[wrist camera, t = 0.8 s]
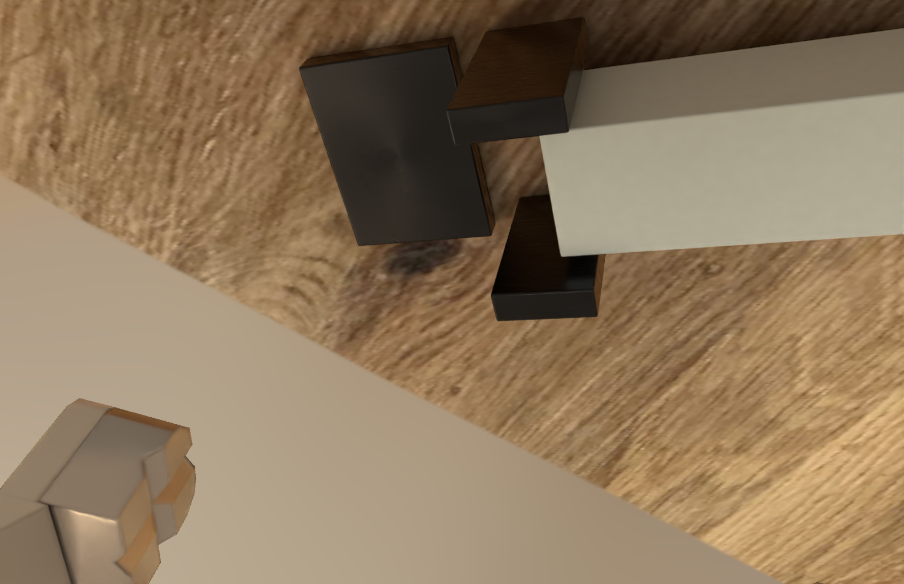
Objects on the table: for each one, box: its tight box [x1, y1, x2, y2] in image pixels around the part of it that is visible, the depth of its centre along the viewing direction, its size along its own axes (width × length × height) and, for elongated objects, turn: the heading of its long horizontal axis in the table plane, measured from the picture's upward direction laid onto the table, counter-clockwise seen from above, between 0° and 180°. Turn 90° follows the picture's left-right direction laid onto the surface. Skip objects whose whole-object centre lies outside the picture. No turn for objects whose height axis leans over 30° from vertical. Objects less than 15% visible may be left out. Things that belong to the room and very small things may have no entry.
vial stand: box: [299, 18, 606, 321], centre depth 26 cm, size 9×7×6 cm
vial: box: [539, 28, 904, 257], centre depth 23 cm, size 16×4×4 cm, turn 103°
